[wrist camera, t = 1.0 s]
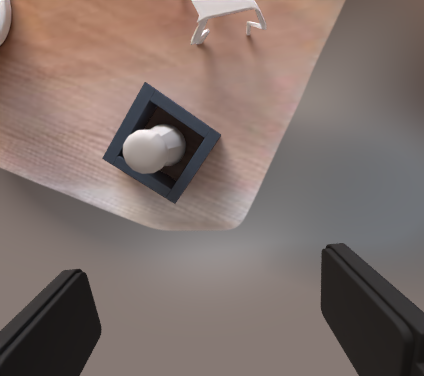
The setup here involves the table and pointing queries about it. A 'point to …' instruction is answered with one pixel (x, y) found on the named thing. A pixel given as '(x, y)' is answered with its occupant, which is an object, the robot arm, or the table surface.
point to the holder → (138, 121)
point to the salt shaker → (154, 148)
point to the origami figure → (219, 6)
